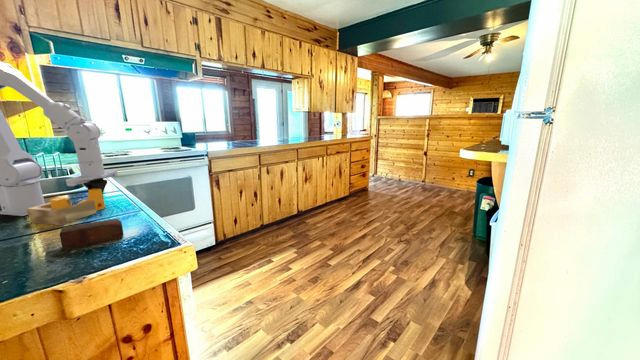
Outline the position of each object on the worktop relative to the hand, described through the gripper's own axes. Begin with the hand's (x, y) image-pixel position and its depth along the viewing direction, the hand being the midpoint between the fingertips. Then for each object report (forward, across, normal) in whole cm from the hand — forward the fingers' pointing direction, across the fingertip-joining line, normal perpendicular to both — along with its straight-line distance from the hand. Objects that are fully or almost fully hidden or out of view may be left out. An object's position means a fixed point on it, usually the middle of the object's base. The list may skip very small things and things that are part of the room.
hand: (99, 201), depth 83 cm
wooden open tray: (+1, -9, 0) cm, 10 cm away
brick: (+2, -21, -24) cm, 32 cm away
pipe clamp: (+2, -7, -2) cm, 8 cm away
